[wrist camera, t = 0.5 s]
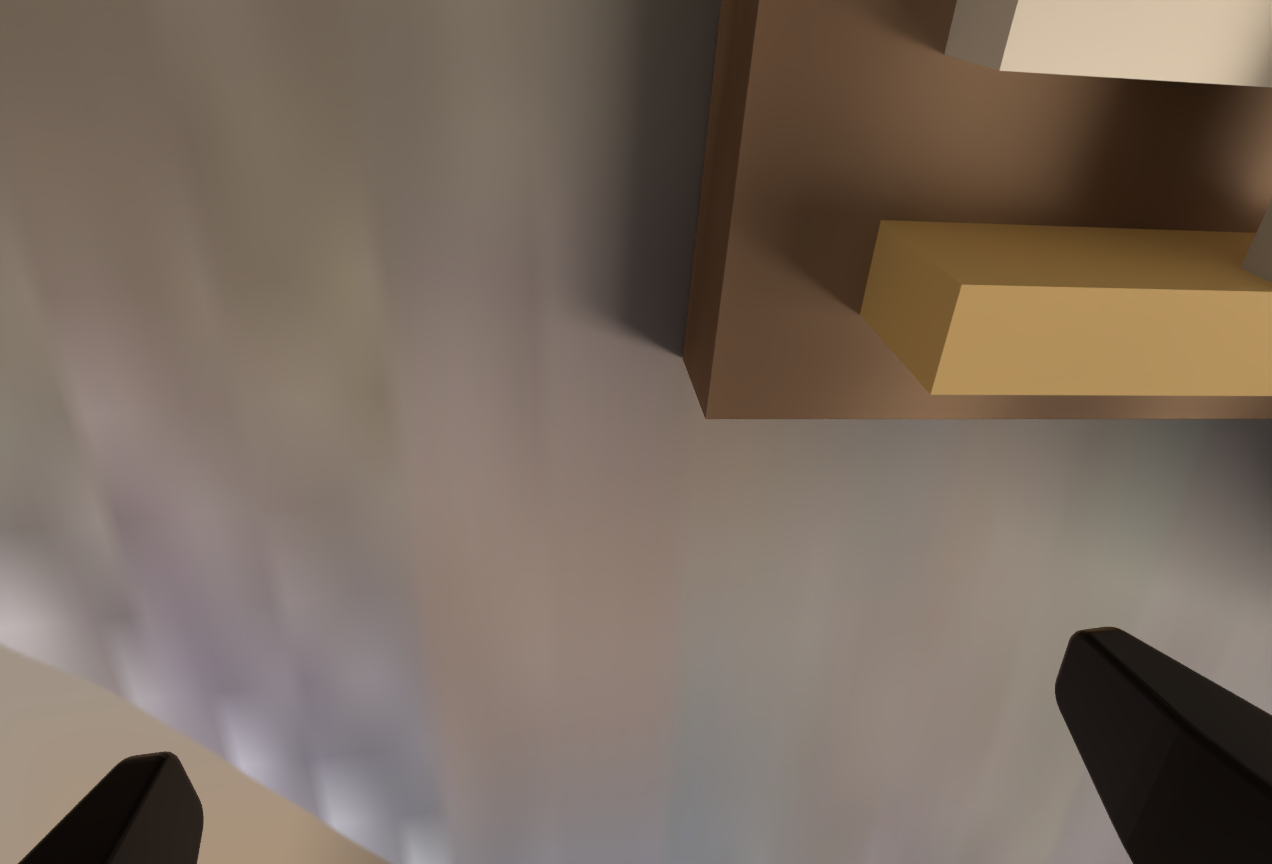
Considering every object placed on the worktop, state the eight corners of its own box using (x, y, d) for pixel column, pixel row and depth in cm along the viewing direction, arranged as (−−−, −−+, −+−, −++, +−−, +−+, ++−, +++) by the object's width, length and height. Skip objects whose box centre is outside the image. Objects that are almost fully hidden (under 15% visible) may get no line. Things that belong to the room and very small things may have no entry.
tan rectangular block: (1447, -4, 15) (1670, 13, 12) (1283, 322, 19) (1429, 396, 16) (938, -44, 14) (1052, -38, 11) (860, 315, 17) (930, 394, 14)
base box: (1742, -518, 14) (2007, -617, 12) (1284, 364, 23) (1380, 419, 20) (796, -700, 12) (870, -870, 9) (682, 359, 21) (705, 418, 18)
